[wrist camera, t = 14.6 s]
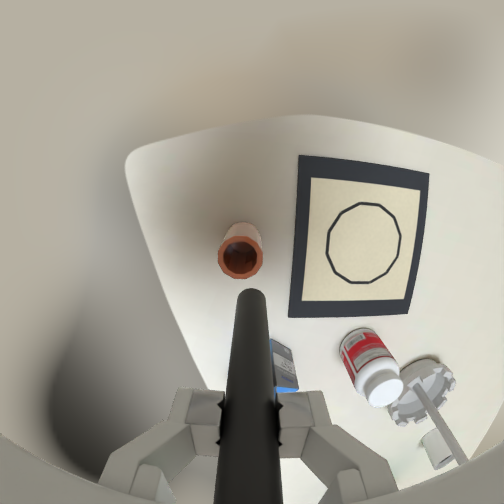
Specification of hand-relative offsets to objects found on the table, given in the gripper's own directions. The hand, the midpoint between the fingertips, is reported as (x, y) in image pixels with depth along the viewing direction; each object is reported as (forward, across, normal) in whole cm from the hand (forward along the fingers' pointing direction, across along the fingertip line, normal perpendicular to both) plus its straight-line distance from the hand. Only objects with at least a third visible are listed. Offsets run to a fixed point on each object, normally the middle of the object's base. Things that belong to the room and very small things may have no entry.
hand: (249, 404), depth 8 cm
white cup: (+25, -46, +47) cm, 70 cm away
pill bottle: (+25, -16, +15) cm, 33 cm away
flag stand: (+25, -30, +25) cm, 46 cm away
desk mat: (+25, -14, 0) cm, 29 cm away
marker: (+10, 0, 0) cm, 10 cm away
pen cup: (+25, +1, 0) cm, 25 cm away
